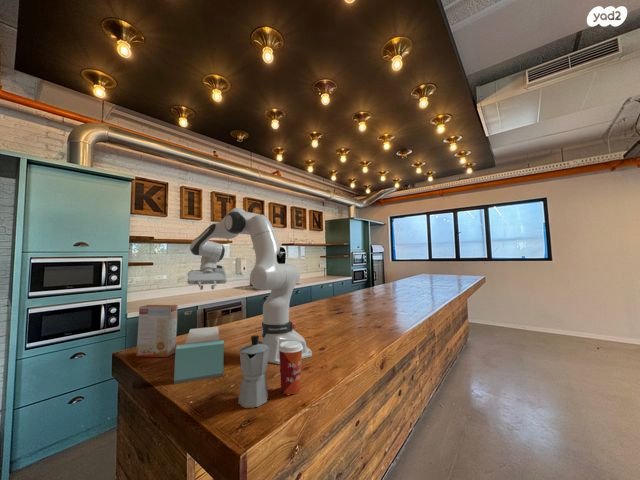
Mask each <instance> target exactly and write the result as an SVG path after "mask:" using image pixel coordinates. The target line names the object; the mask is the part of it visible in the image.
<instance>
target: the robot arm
mask: <svg viewBox="0 0 640 480" xmlns="http://www.w3.org/2000/svg"><path fill="white" fill-rule="evenodd" d="M269 219H270V218H268V216H267V215H265V214H262V213H256V212H255V213H254V212H249V211H245V209H243V208H241V207H233V208H232V209H231V210H230V211H229V212H227V214H225V216H224V217H223V218H222V220H221V221H219V222H216V223H212V224H210V225H209V226H208V227H207V228H206V229H205V230H203V231H202V232H201V234H200V235H198V236H197V237H195V238H194V239H193V240H192V241H191V243H190V245H189V251H190V252H191V253H192V255H194V256H201V258H200V266H199V267H200V268H199V269H197V270H196V269H195V270H194V269H193V270H192V269H191V270H190V271H188V272H187V276H188V277H187V284H188V285H190V286H191V285H193V286H194V285H198V287H199V290H200V291H203V290H204V285H210V287H211V288H210V289H211V290H214V289H215V287H216V286H217V285H218V284H219V285H220V284H226V283H227V281H228V276H227V272H226V270H225V266H223V265H220V264H217V263H219V262H221V261H222V260H223V259H224V257H225V251H226V248H225V246H224V244H223V243H218V242H215V241H210V239H225V240H226V239H227V240H231V239H234V238H237V237H238V236H239V235H249V236H250V239H251V242H252V246H253V250H254V253H255V264H254V266H253V268H252V269H251V272H250V273H249V274H250V275H249V280H250V283H251V284H250V285H251V286H252V287H253V288H254V289H256V290H260V291H270V293H269V295H268V297H267V299H266V300H265V301H264V303H263V305H262V322H261V326H260V327H261V329H260V332H261V333H260V335H261V341H262V344H264V345H267V346H268V347H269V348H270V350H269V357H268V363H272V364H276V365H280V351H279V350H278V348H279V347H280V344H281V343H282V342H285V341H298V342H300V343H301V344H302V346H303V349H302V358H301V360H303V359H308V358H311V357H312V355H313V351H312V350H311V349H310V348H309V347H308V346H307V342H306V339H305V338H304V337H303V336H302V335H301V334H300V333H298V332H297V331H296V330H294V329H296V328H297V327H298V326H297V323H296V322H293V321H290V304H291V303H290V302H291V297H292V295H293V292H294V288H295V286H297V284H298V282H299V280H300V277H301V275H300V274H301V273H300V271H299V268H298V267H296V266H295V265H293V264H289V263H279V262H278V257H277V255H278V254H279V253H280V249H281V246H280V243H279V241H278V240H279V239H278V238H277V235H276V233H275V232H276V231H275V230H274V227H273V225H272V223H271V221H270V220H269Z"/></svg>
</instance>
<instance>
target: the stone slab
mask: <svg viewBox="0 0 640 480" xmlns="http://www.w3.org/2000/svg"><path fill="white" fill-rule="evenodd" d="M219 334H220V333H219V326H209V327H208V326H207V327H199V328H190V329H189V332H188V334H187V337H186V339H185V342H184V345H186V344H195V343H204V342H212V341H220V336H219Z"/></svg>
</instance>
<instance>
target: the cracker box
mask: <svg viewBox="0 0 640 480" xmlns="http://www.w3.org/2000/svg"><path fill="white" fill-rule="evenodd" d="M178 307H179V306H178V304H146V305H141V306H139V309H138V310H139V311H138V324H137V325H138V326H137V339H136V340H137V342H136V354H135V355H136V357H147V358H151V357H153V358H168V357H169V356H171V355H174V354H175V351H176V347H177V331H178V330H177V329H178Z"/></svg>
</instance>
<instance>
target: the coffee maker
mask: <svg viewBox="0 0 640 480" xmlns="http://www.w3.org/2000/svg"><path fill="white" fill-rule="evenodd" d="M250 339H251V343H250V344H246V345H244V346H243V347H240V348H239V358H240V359H239V360H240V370H241V373H242V378H241V383H240V388H239V395H238V402H237V405H238V404H240V405H242V406H243V407H247V408H250V407H252V408H251V409H255V408H254V407H258V406H260V405H262V404H264V403H266V402H267V403H268V400H267V399H269V392H268V383H267V378H266V377H267V376H266V372H267V370H268V363H269V362H268V357H269V350H270V348H269V347H268V346H267V345H264V344H262V340H261V341H259V339H260V336H259V335H258V334H256V335H251V336H250ZM267 403H266V404H267ZM264 405H265V404H264ZM262 406H263V405H262ZM260 407H261V406H260ZM258 408H259V407H258Z"/></svg>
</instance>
